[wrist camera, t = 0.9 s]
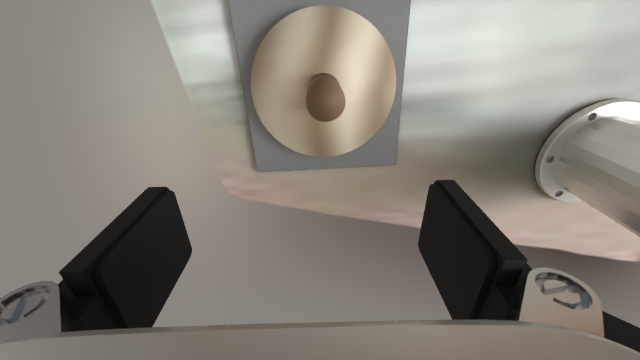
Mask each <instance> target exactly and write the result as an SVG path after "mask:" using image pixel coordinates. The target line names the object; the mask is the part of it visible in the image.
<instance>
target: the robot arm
mask: <svg viewBox="0 0 640 360" xmlns="http://www.w3.org/2000/svg"><path fill="white" fill-rule="evenodd" d="M535 177H536V180H537V184H538V185H539V187H540V188H541V189H542V190H543V191H544V192H545V193H546V194H548V195H549V196H551V197H552V198H554V199H556V200H559V201H562V202H569V203H576V202H586V203H587V204H589V205H590V206H592V207H594V208H595V209H597V210H598V211H600V212H601V213H603V214H605V215H606V216H608V217H609V218H611V219H612V220H614V221H616V222H617V223H619V224H620V225H622V226H623V227H625V228H626V229H628V230H630V231H631V232H633V233H634V234H636V235H637V236H639V237H640V102H637V101H633V100H627V99H611V100H606V101H602V102H598V103H596V104H593V105H590V106H588V107H586V108H584V109H582V110H580V111H578V112H577V113H575V114H574V115H572V116H571V117H569V118H568V119H567V120H565V121H564V122H563V123H562V124H561V125H560V126H559V127H557V128H556V129H555V130H554V131H553V133H552V134H551V135H550V136H549V138H548V139H547V140H546V142H545V143H544V145H543V147H542V148H541V150H540V152H539V155H538V157H537V161H536V165H535ZM418 245H419V250H420V252H421V254H422V257H423V259H424V261H425V263H426V265H427V267H428V269H429V271H430V273H431V276H432V278H433V280H434V282H435V284H436V286H437V288H438V290H439V292H440V294H441V296H442V299H443V300H444V303H445V305H446V307H447V309H448V311H449V313H450V315H451V317H452V320H398V321H352V322H315V323H314V322H313V323H278V324H277V323H276V324H245V325H244V324H242V325H214V326H213V325H211V326H184V327H183V326H180V327H152V326H153V324H154V323H155V321H156V319H157V317H158V315H159V313H160V312H161V310H162V308H163V306H164V304H165V302H166V300H167V299H168V297H169V295H170V293H171V291H172V290H173V288H174V286H175V284H176V282H177V280H178V278H179V277H180V275H181V273H182V271H183V269H184V268H185V266H186V264H187V262H188V260H189V258H190V256H191V252H192V248H191V244H190V241H189V238H188V235H187V231H186V228H185V225H184V222H183V219H182V215H181V212H180V209H179V206H178V203H177V200H176V196H175V194H174V192H173V191H170V190H169V189H168V188H167V187H149V188H147V189H146V190H145V191H144V192H143V193H142V194H141V195H140V196H139V197H138V198H137V199H135V200H134V201H133V202H132V203H131V204H130V205H129V206H128V207H127V208H126V209H125V210H124V211H123V212H122V213H121V214H120V215H119V216H118V217H117V218H116V219H114V221H112V222H111V223H110V224H109V225H108V226H107V227H106V228H105V229H104V230H103V231H102V232H101V233H100V234H99V235H98V236H97V237H95V239H93V240H92V241H91V242H90V243H89V244H88V245H87V246H86V247H85V248H84V249H83V250H82V251H81V252H80V253H79V254H78V255H77V256H75V257H74V258H73V259H72V260H71V261H70V262H69V263H68V264H67V265H66V266H65V267H64V268H63V269H62V270H61V271H60V272H59V273H60V275H61V276H62V278H63V280H62V281H61V282H60V283H59V284H57V283H55V282H53V281H40V282H35V283H31V284H28V285H25V286H22V287H20V288H18V289H16V290H14V291H12V292H10V293H8V294H7V295H5V296H3V297H2V298H0V360H640V328H638V327H636V326H634V325H632V324H630V323H627V322H625V321H623V320H621V319H619V318H617V317H614V316H612V315H610V314H608V313H606V312H603V311H602V306H601V302H600V299H599V297H598V296H597V295H596V294H595V292H594V291H593V290H592V289H591V288H590V287H588V286H587V285H586V284H585V283H583V282H582V281H580V280H579V279H577V278H575V277H574V276H571V275H569V274H567V273H565V272H562V271H558V270H555V269H551V268H535V269H534V270H532V269H531V268H530V267H529V265H528V264H527V263H526V262H527V259H526V258H525V256H524V255H523V254H521V252H520V251H519V250H518V249H517V248H516V247H515V246H514V245H513V243H512V242H511V241H510V240H509V239H508V238H507V237H506V236H505V235H504V234H503V233H502V232H501V231H500V229H499V228H498V227H497V226H496V225H495V224H494V223H493V222H492V221H491V220H490V219H489V218H488V217H487V215H486V214H485V213H484V212H483V211H482V210H481V209H480V208H479V207H478V206H477V205H476V204H475V202H474V201H473V200H472V199H471V198H470V197H469V196H468V195H467V194H466V193H465V192H464V191H463V190H462V188H461V187H460V186H459V185H458V184H457V183H456V182H455V181H454V180H437V181H435V183H434V184H431V185H430V187H429V191H428V196H427V201H426V206H425V211H424V216H423V221H422V226H421V231H420V236H419V243H418Z"/></svg>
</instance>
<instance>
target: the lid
mask: <svg viewBox="0 0 640 360" xmlns="http://www.w3.org/2000/svg"><path fill="white" fill-rule="evenodd" d="M395 91H396V70H395V64H394V60H393V56H392V54H391V51H390V49H389V46H388V45H387V43H386V41H385V39H384V38H383V36H382V35H381V34H380V32H379V31H378V30H377V29H376V28H375V27H374V26H373V25H372V24H371V23H370V22H369V21H368V20H366V19H365V18H364V17H362V16H361V15H359V14H357V13H355V12H353V11H351V10H348V9H345V8H342V7H336V6H328V5H319V6H311V7H307V8H304V9H300V10H298V11H296V12H293V13H291V14H289V15H288V16H286V17H285V18H283V19H282V20H280V21H279V22H278V23H277V24H276V25H275V26H274V27H272V29H271V30H270V31H269V32H268V33H267V35H266V36H265V37H264V39H263V41H262V42H261V44H260V46H259V48H258V50H257V52H256V54H255V58H254V61H253V65H252V71H251V93H252V98H253V103H254V106H255V109H256V112H257V114H258V116H259V118H260V120H261V122H262V123H263V125H264V126H265V128H266V129H267V130H268V131H269V132H270V134H271V135H272V136H273V137H274V138H275V139H277V140H278V141H279V142H280V143H282V144H283V145H284V146H286V147H288V148H290V149H291V150H293V151H296V152H298V153H301V154H305V155H309V156H315V157H330V156H337V155H341V154H344V153H347V152H350V151H352V150H354V149H356V148H358V147H360V146H361V145H363V144H364V143H366V142H367V141H368V140H369V139H370V138H372V137H373V136H374V135H375V134H376V132H377V131H378V130H379V129H380V128H381V126H382V125H383V123H384V122H385V120H386V118H387V116H388V115H389V112H390V110H391V107H392V104H393V101H394V97H395Z"/></svg>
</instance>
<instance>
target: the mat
mask: <svg viewBox="0 0 640 360" xmlns="http://www.w3.org/2000/svg"><path fill="white" fill-rule="evenodd" d="M410 3H411V0H228V4H229V9H230V15H231V21H232V27H233V32H234V38H235V44H236V50H237V55H238V61H239V67H240V73H241V78H242V84H243V90H244V96H245V101H246V107H247V113H248V119H249V124H250V130H251V136H252V142H253V147H254V153H255V159H256V165H257V170H258V172H271V171H290V170H309V169H329V168H348V167H367V166H387V165H395V164H396V153H397V143H398V132H399V121H400V110H401V100H402V89H403V78H404V67H405V57H406V46H407V35H408V24H409V14H410ZM319 5H328V6H336V7H342V8H345V9H348V10H351V11H353V12H355V13H357V14H359V15H361V16H362V17H364V18H365V19H366V20H368V21H369V22H370V23H371V24H372V25H373V26H374V27H375V28H376V29H377V30H378V31H379V32H380V34H381V35H382V36H383V38H384V39H385V41H386V43H387V45H388V46H389V49H390V51H391V54H392V56H393V60H394V64H395V70H396V91H395V97H394V101H393V104H392V107H391V110H390V112H389V115H388V116H387V118H386V120H385V122H384V123H383V125H382V126H381V128H380V129H379V130H378V131H377V132H376V134H375V135H374V136H373V137H372V138H370V139H369V140H368V141H367V142H366V143H364V144H363V145H361V146H360V147H358V148H356V149H354V150H352V151H350V152H347V153H344V154H341V155H337V156H330V157H315V156H309V155H305V154H301V153H298V152H296V151H293V150H291V149H290V148H288V147H286V146H284V145H283V144H282V143H280V142H279V141H278V140H277V139H275V138H274V137H273V136H272V135H271V134H270V132H269V131H268V130H267V129H266V128H265V126H264V125H263V123H262V122H261V120H260V118H259V116H258V114H257V112H256V109H255V106H254V103H253V98H252V93H251V71H252V65H253V61H254V58H255V54H256V52H257V50H258V48H259V46H260V44H261V42H262V41H263V39H264V37H265V36H266V35H267V33H268V32H269V31H270V30H271V29H272V27H274V26H275V25H276V24H277V23H278V22H279V21H280V20H282V19H283V18H285V17H286V16H288V15H289V14H291V13H293V12H296V11H298V10H300V9H304V8H307V7H311V6H319Z"/></svg>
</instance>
